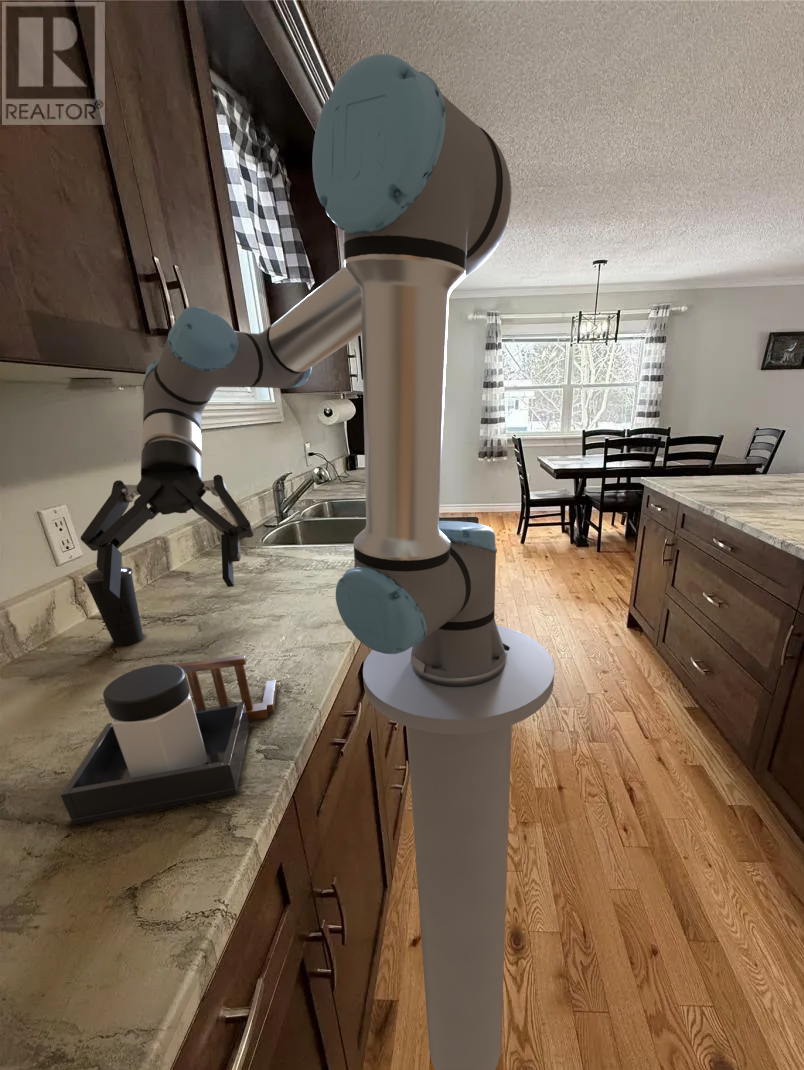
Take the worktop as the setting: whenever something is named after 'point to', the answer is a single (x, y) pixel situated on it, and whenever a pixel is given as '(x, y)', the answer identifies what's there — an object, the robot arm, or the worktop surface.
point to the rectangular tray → (114, 793)
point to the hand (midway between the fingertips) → (171, 588)
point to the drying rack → (215, 666)
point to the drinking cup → (117, 607)
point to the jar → (155, 720)
